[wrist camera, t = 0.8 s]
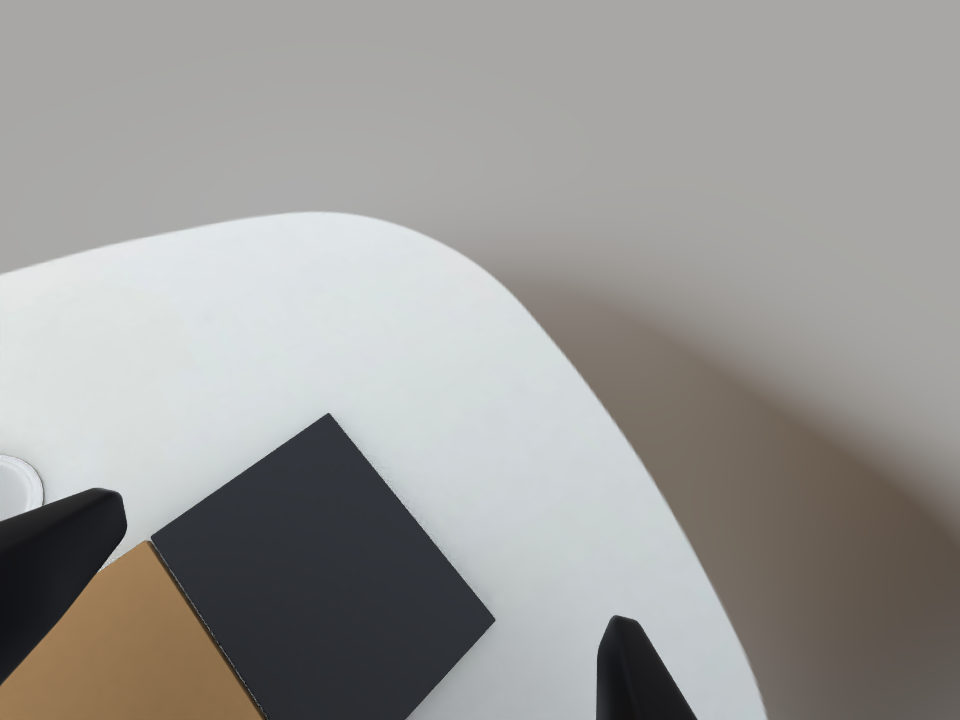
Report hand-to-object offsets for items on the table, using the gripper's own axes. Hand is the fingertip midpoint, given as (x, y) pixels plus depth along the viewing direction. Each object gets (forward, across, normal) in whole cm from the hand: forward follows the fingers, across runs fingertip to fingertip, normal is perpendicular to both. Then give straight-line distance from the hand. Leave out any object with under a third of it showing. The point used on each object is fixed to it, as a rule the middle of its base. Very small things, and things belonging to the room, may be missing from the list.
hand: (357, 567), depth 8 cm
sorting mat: (+7, +8, +16) cm, 19 cm away
